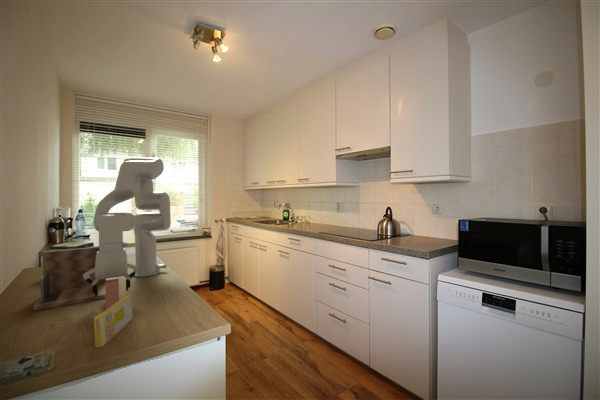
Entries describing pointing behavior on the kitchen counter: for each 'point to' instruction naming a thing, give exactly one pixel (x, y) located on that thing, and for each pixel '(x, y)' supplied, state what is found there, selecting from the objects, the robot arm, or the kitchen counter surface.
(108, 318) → the candy box
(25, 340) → the kitchen counter surface
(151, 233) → the robot arm
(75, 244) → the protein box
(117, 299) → the book
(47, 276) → the bookend
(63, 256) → the shelf
